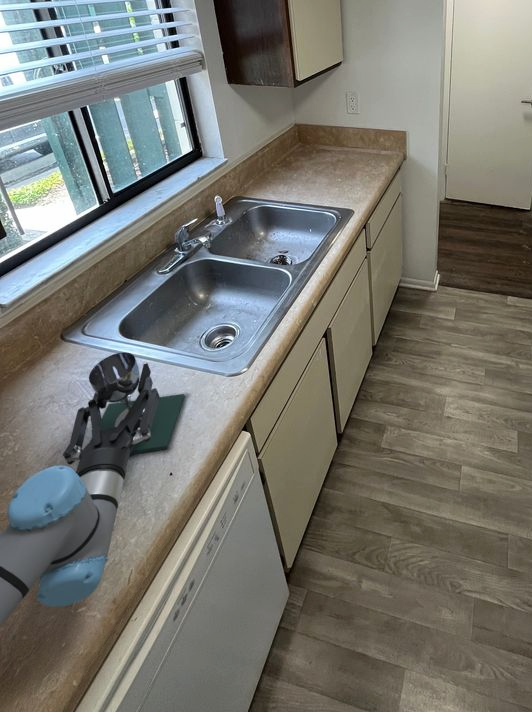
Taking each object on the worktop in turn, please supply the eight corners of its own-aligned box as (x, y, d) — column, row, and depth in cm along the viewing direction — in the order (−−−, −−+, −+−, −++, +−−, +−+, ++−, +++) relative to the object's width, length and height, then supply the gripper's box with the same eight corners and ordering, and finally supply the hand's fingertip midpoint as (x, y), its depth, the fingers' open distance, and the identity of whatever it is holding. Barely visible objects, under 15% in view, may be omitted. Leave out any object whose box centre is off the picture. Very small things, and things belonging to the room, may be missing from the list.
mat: (83, 461, 87) (81, 458, 87) (110, 406, 98) (108, 403, 98) (167, 448, 90) (166, 445, 89) (185, 396, 100) (184, 393, 100)
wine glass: (108, 442, 88) (83, 392, 81) (116, 408, 94) (93, 359, 88) (152, 427, 90) (132, 378, 84) (157, 396, 97) (138, 347, 90)
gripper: (39, 516, 73) (82, 397, 92) (167, 475, 78) (182, 372, 98) (20, 490, 69) (69, 373, 89) (156, 449, 75) (173, 347, 94)
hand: (128, 372), depth 93 cm, fingers closed on wine glass, 6 cm apart
